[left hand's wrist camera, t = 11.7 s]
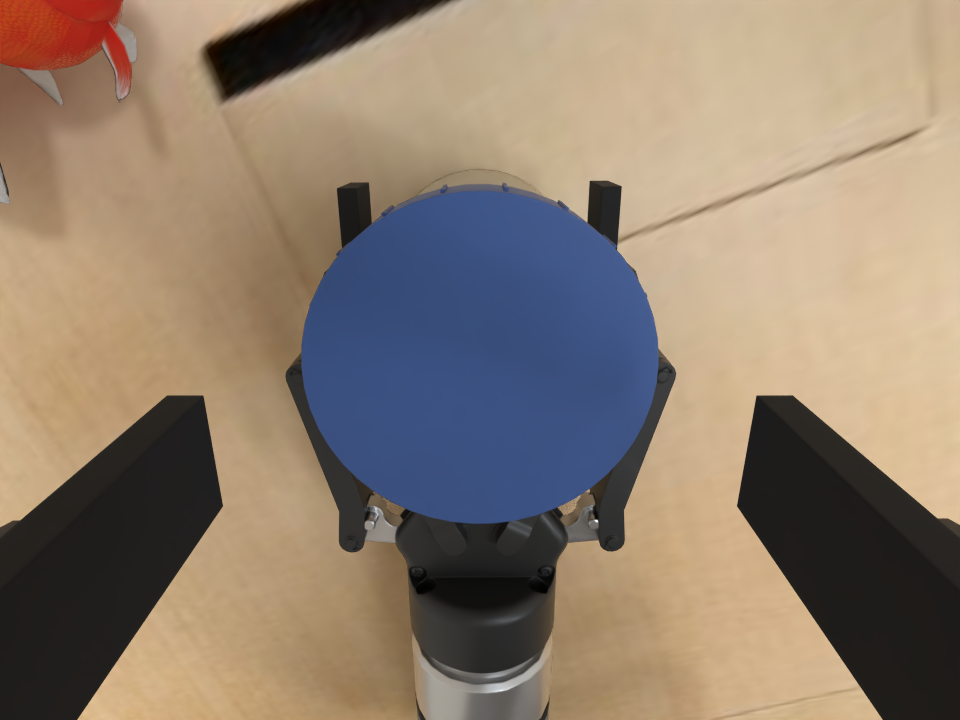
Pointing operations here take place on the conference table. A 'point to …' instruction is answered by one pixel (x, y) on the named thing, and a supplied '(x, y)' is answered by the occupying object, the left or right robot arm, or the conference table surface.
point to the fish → (63, 42)
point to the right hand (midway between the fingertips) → (479, 184)
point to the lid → (479, 355)
